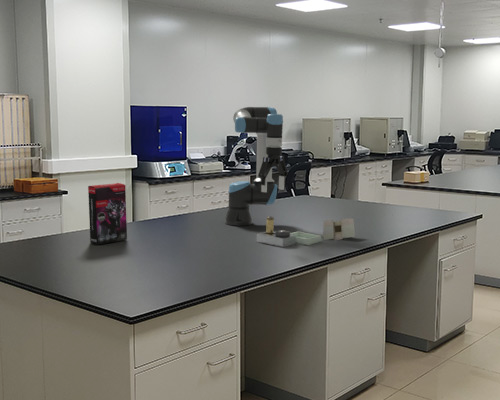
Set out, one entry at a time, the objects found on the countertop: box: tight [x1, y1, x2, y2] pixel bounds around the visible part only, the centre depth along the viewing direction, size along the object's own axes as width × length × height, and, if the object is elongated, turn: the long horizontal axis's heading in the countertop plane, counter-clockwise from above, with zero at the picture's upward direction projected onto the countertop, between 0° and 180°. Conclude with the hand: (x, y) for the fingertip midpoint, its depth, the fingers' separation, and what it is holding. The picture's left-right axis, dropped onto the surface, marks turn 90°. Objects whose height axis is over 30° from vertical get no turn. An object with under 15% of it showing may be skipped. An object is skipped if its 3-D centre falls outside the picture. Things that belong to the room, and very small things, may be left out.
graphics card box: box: [87, 182, 128, 246], centre depth 286 cm, size 17×7×27 cm, turn 137°
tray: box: [290, 231, 322, 246], centre depth 299 cm, size 14×12×3 cm
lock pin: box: [265, 216, 275, 235], centre depth 296 cm, size 4×4×12 cm
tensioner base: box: [256, 229, 296, 248], centre depth 294 cm, size 16×10×7 cm, turn 49°
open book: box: [322, 217, 356, 241], centre depth 311 cm, size 16×9×15 cm
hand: (272, 190), depth 294 cm, fingers open, 13 cm apart
